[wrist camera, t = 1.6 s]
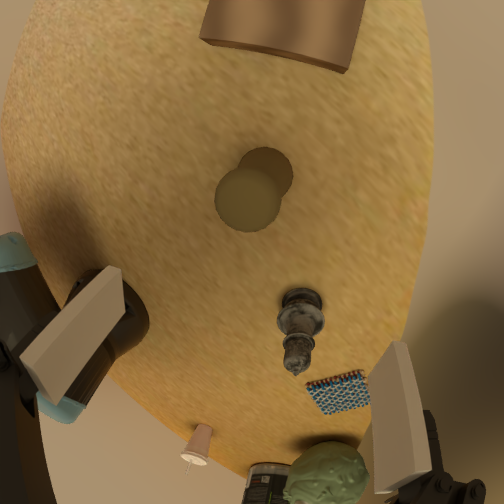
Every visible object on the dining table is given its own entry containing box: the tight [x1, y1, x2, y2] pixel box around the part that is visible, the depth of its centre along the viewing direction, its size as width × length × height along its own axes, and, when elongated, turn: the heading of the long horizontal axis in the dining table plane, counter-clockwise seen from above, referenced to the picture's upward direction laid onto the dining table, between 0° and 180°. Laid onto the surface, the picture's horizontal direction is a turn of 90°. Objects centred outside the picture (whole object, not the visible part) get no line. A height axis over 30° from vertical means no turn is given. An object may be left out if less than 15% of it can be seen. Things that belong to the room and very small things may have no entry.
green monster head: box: [283, 441, 370, 504], centre depth 46 cm, size 16×19×20 cm
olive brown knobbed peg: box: [214, 147, 293, 232], centre depth 26 cm, size 6×6×11 cm
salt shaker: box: [277, 288, 325, 376], centre depth 32 cm, size 6×6×12 cm
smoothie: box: [181, 424, 212, 475], centre depth 54 cm, size 6×6×14 cm
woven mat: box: [305, 370, 371, 415], centre depth 44 cm, size 10×11×2 cm
